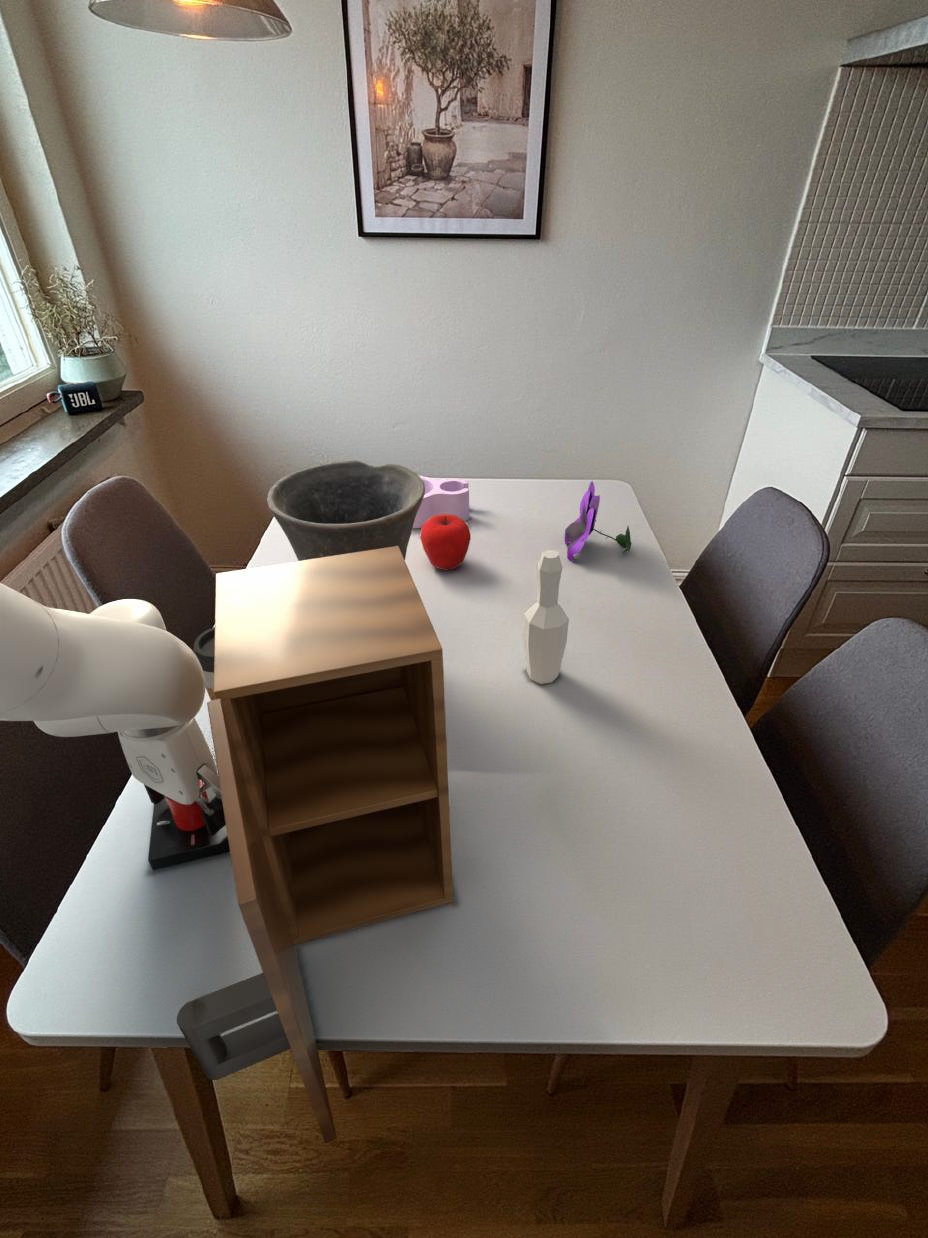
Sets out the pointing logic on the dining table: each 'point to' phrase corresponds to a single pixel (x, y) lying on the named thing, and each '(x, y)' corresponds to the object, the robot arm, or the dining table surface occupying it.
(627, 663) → the dining table surface
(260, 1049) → the cupboard door
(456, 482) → the purple cup holder
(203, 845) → the valve panel
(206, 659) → the coffee cup
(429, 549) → the apple
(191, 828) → the valve knob
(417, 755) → the cupboard
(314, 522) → the vase
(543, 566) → the faceted bottle
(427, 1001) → the dining table surface
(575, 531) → the flower
